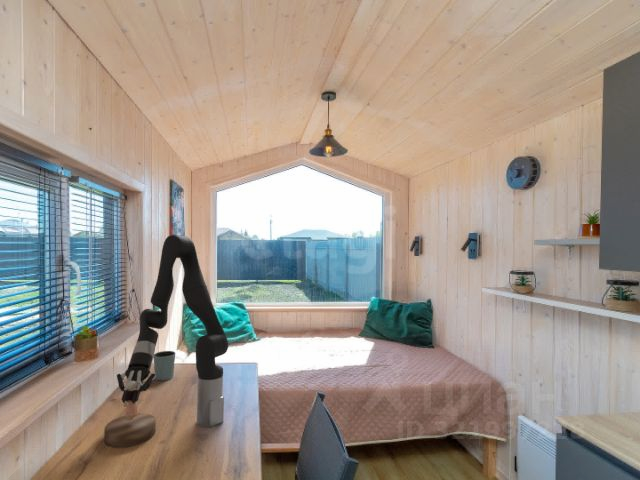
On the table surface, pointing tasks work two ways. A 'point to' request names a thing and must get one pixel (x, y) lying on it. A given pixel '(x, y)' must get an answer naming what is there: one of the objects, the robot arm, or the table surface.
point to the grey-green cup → (164, 365)
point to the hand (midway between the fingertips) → (129, 402)
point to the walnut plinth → (129, 431)
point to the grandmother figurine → (130, 401)
